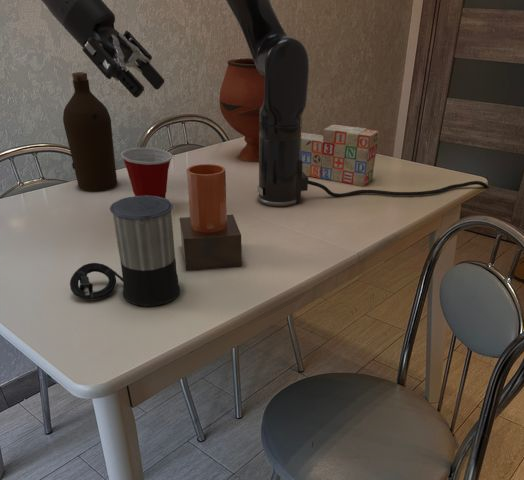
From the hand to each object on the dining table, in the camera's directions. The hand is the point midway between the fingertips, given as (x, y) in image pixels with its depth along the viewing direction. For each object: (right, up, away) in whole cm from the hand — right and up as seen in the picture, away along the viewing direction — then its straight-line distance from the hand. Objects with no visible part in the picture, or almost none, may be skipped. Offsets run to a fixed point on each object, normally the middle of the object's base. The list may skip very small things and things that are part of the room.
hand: (151, 89), depth 92 cm
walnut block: (+10, -28, +7) cm, 30 cm away
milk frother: (-3, -36, -4) cm, 36 cm away
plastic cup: (-6, -13, +28) cm, 32 cm away
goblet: (+17, +11, +63) cm, 66 cm away
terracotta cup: (+10, -23, +4) cm, 25 cm away
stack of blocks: (+37, +1, +48) cm, 61 cm away
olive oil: (-22, -4, +41) cm, 46 cm away
